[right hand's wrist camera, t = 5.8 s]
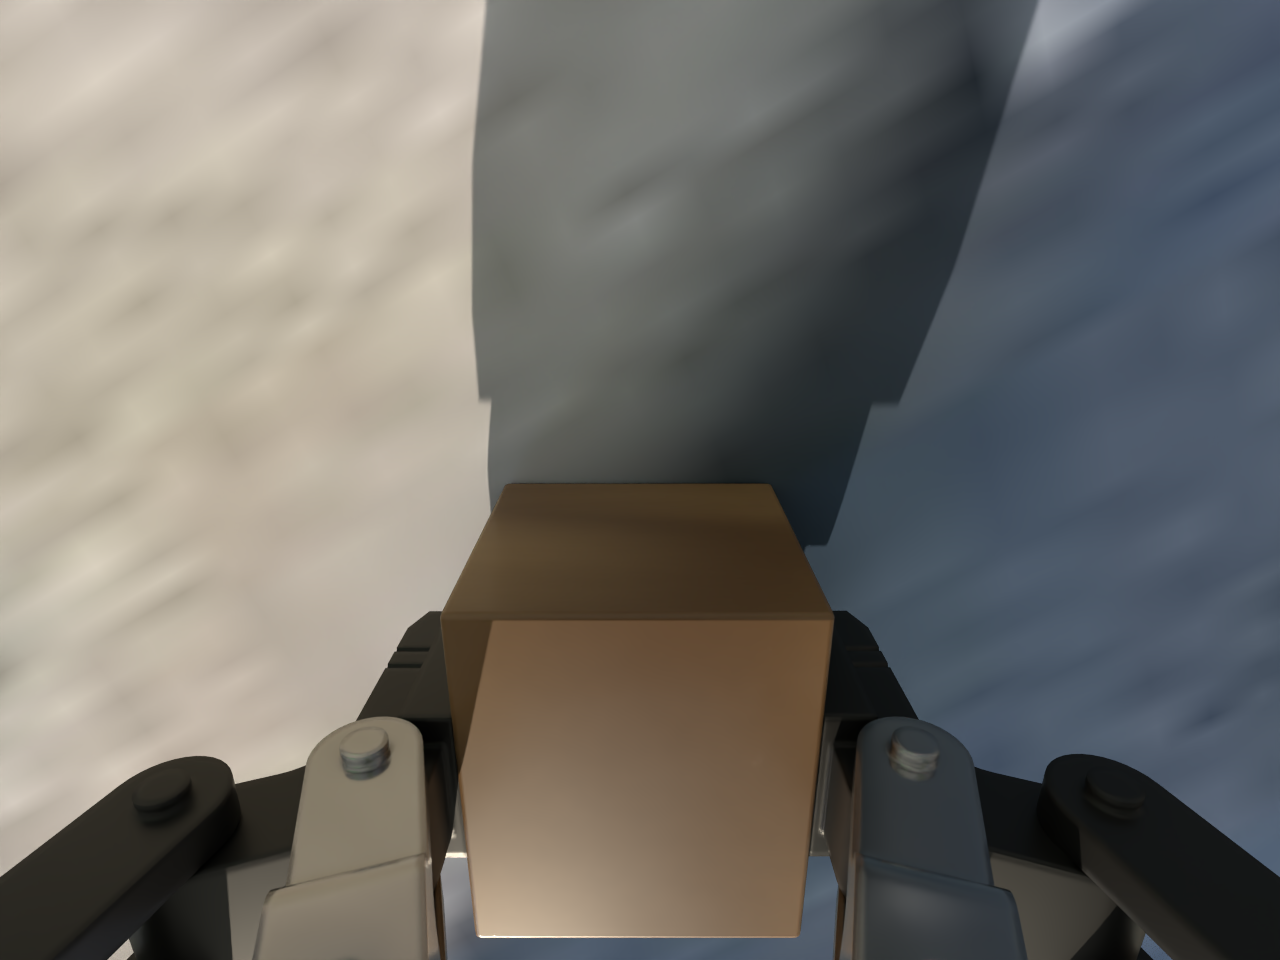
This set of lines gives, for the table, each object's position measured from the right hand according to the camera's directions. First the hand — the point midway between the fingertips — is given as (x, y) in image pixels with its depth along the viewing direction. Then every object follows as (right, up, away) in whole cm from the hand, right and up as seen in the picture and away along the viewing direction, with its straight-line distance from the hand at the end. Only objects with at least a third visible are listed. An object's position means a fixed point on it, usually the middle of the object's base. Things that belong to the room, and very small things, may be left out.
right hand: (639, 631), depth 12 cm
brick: (0, 0, 0) cm, 1 cm away
